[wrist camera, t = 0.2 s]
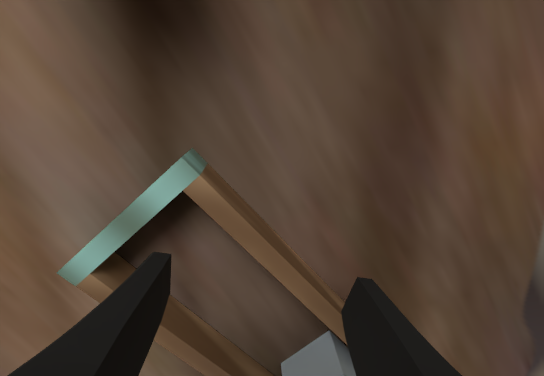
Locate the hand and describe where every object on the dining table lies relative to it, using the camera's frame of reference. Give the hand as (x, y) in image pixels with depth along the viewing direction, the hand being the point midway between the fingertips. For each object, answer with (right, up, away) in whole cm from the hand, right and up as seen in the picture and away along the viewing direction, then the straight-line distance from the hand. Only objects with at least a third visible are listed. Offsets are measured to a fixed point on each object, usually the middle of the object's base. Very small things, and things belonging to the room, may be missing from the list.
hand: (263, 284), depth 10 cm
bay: (0, -7, +14) cm, 16 cm away
